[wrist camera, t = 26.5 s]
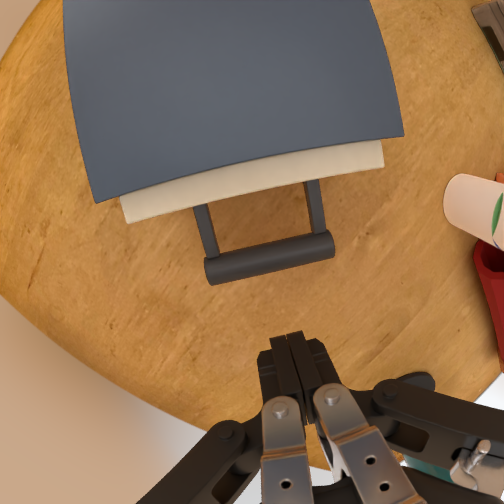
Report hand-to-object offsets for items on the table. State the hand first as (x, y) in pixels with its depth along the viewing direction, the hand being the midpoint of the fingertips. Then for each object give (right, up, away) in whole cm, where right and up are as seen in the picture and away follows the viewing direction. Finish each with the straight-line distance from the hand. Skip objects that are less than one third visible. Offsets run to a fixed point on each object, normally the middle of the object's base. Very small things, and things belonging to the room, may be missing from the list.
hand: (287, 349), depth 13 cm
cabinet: (-4, +17, +1) cm, 17 cm away
